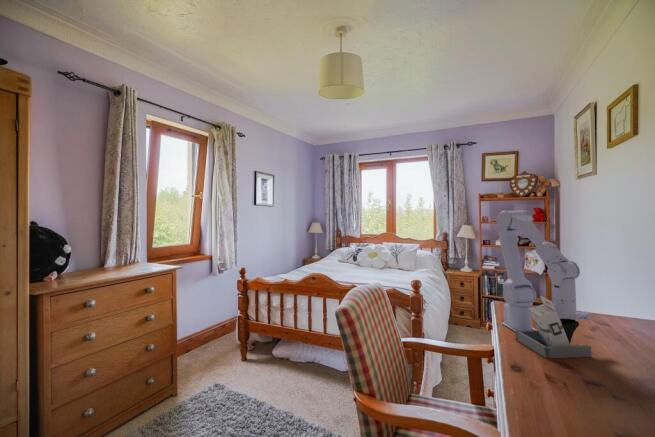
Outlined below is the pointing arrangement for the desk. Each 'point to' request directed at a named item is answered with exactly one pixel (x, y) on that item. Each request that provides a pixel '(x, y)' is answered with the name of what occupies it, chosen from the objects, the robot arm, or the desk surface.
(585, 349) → the frame
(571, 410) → the desk surface
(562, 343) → the ink box
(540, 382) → the desk surface
